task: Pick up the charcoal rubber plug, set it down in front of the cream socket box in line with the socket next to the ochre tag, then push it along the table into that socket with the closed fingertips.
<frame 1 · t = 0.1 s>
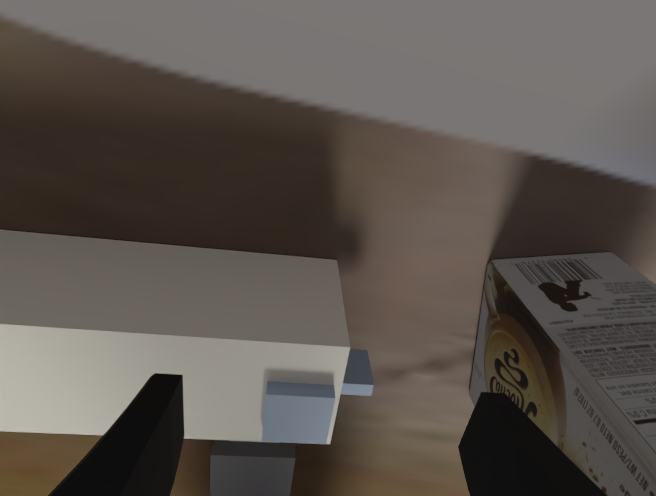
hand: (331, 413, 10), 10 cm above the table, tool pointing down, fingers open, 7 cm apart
socket box: (163, 332, 21), on the table
plug: (258, 418, 25), on the table
coffee box: (532, 324, 23), on the table
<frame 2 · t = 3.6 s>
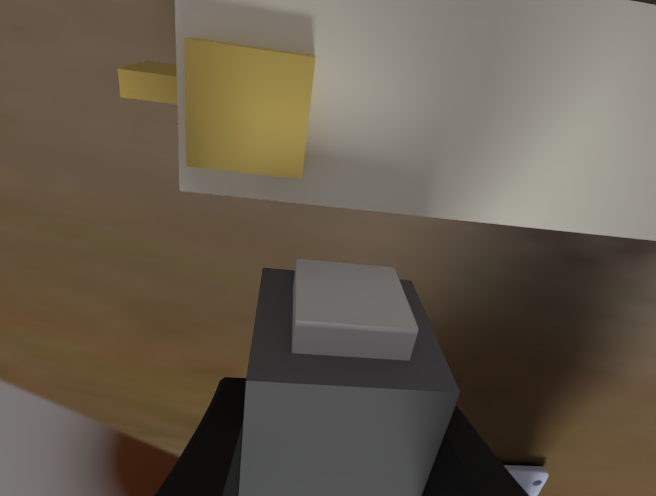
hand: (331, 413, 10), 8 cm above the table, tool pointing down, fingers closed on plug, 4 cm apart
socket box: (440, 157, 16), on the table
plug: (327, 336, 12), point 6 cm above the table, touching gripper
when the fingers open (2 cm above the table, at t = 5.1 s): plug stays where it is, on the table.
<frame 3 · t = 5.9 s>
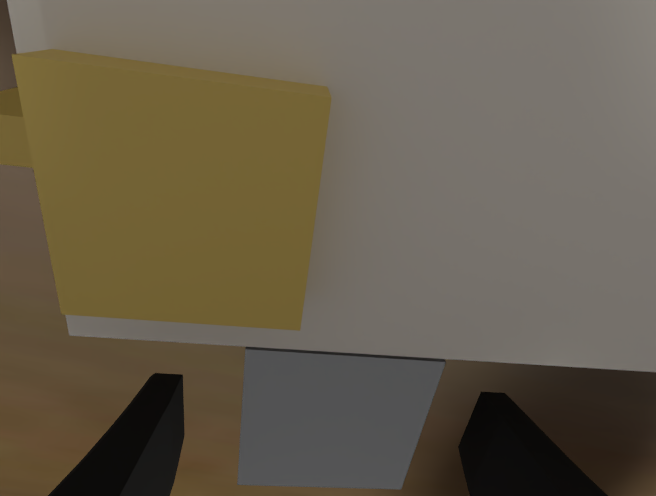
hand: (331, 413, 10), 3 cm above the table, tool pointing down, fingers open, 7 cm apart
socket box: (494, 207, 11), on the table
plug: (324, 316, 13), on the table
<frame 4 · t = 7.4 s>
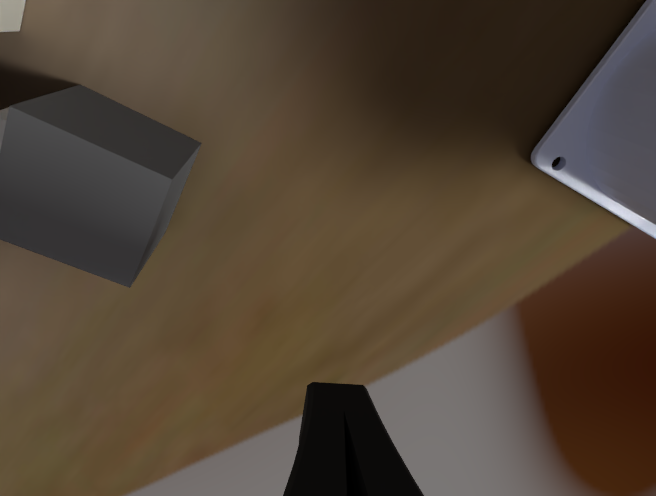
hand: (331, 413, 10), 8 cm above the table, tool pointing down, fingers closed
plug: (127, 164, 16), on the table
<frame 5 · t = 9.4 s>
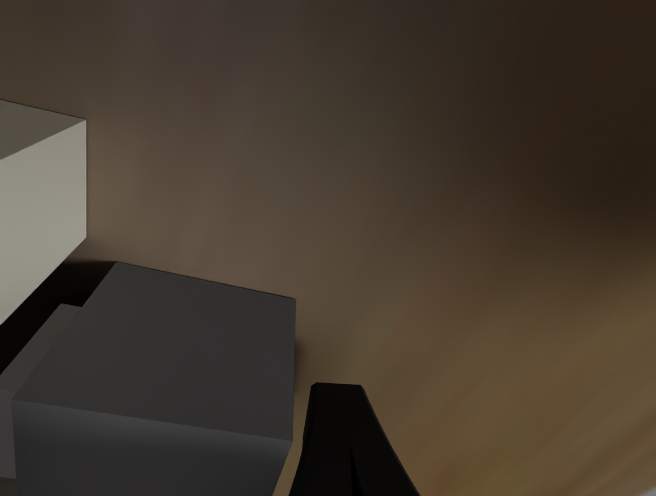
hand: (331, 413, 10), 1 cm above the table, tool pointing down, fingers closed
socket box: (86, 182, 9), on the table
plug: (196, 345, 11), on the table, touching gripper
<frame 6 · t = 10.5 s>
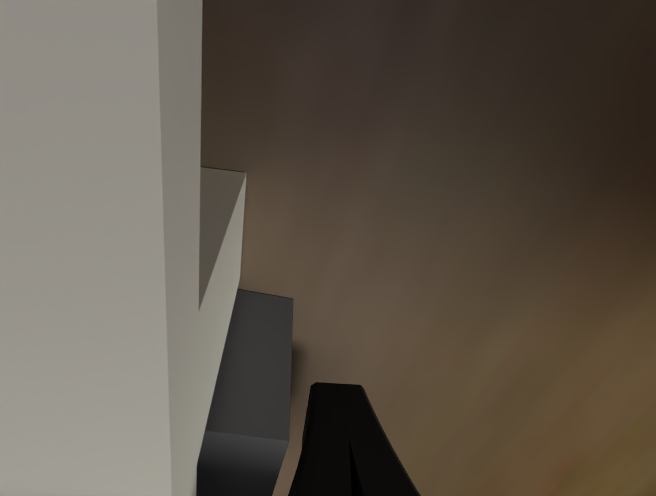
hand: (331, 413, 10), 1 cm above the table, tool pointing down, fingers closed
socket box: (242, 228, 9), on the table
plug: (196, 347, 11), on the table, touching gripper
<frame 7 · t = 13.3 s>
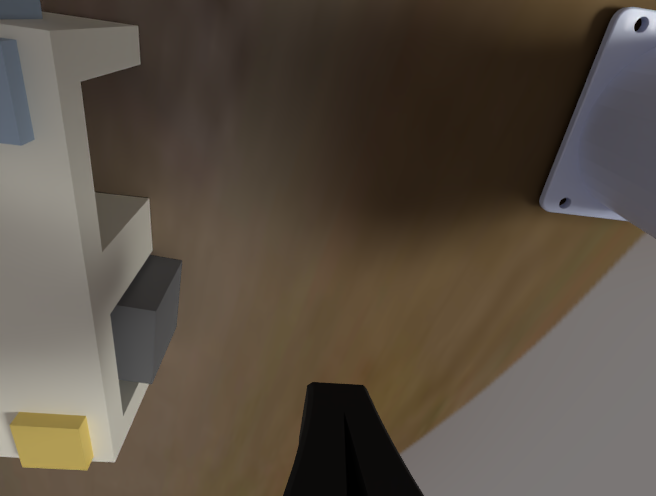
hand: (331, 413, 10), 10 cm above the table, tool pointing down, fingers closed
socket box: (151, 225, 19), on the table
plug: (135, 286, 21), on the table
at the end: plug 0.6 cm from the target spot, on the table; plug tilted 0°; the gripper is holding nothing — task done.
